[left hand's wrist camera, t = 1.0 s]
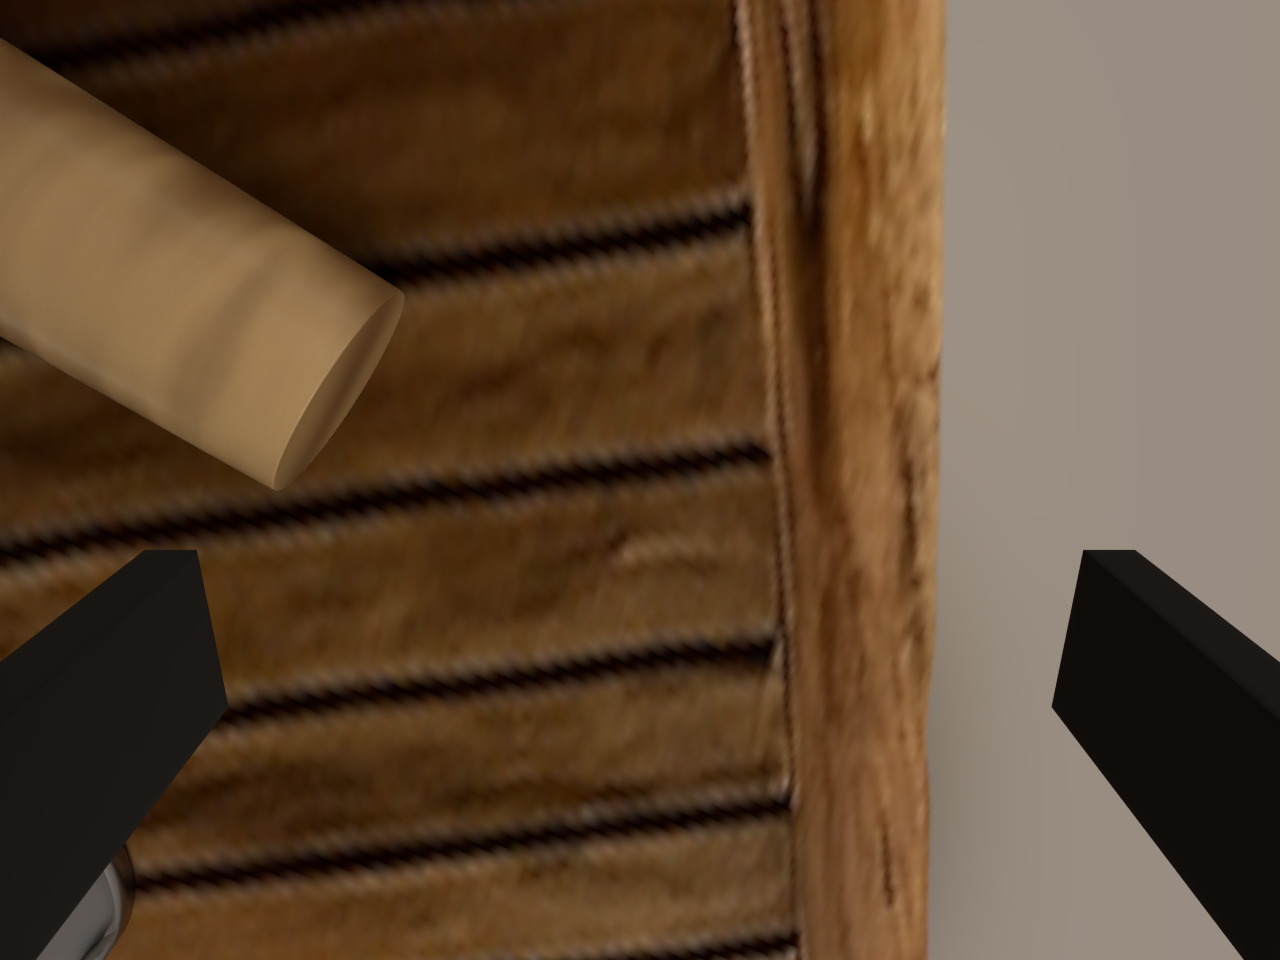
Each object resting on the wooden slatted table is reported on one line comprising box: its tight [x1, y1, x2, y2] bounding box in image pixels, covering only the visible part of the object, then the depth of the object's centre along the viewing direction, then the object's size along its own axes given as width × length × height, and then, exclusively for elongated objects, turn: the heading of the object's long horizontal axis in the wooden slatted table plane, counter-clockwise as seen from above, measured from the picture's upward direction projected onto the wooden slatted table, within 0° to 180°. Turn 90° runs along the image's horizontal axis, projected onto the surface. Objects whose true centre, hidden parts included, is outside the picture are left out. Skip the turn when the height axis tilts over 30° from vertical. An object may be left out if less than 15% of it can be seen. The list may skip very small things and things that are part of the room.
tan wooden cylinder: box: [0, 38, 404, 491], centre depth 26 cm, size 23×8×8 cm, turn 57°
